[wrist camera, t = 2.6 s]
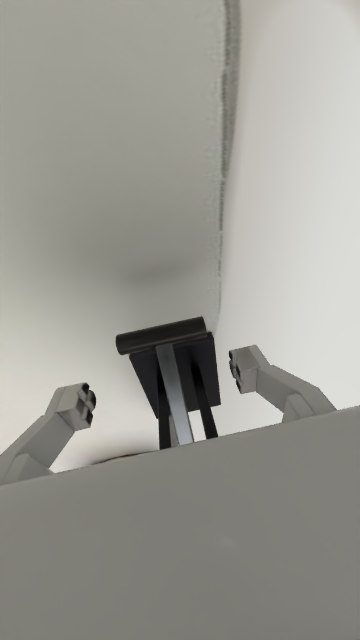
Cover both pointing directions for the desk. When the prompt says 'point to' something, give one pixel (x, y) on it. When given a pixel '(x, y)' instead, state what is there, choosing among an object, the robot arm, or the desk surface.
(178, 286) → the desk surface
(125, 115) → the desk surface
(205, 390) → the bracket
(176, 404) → the lever
